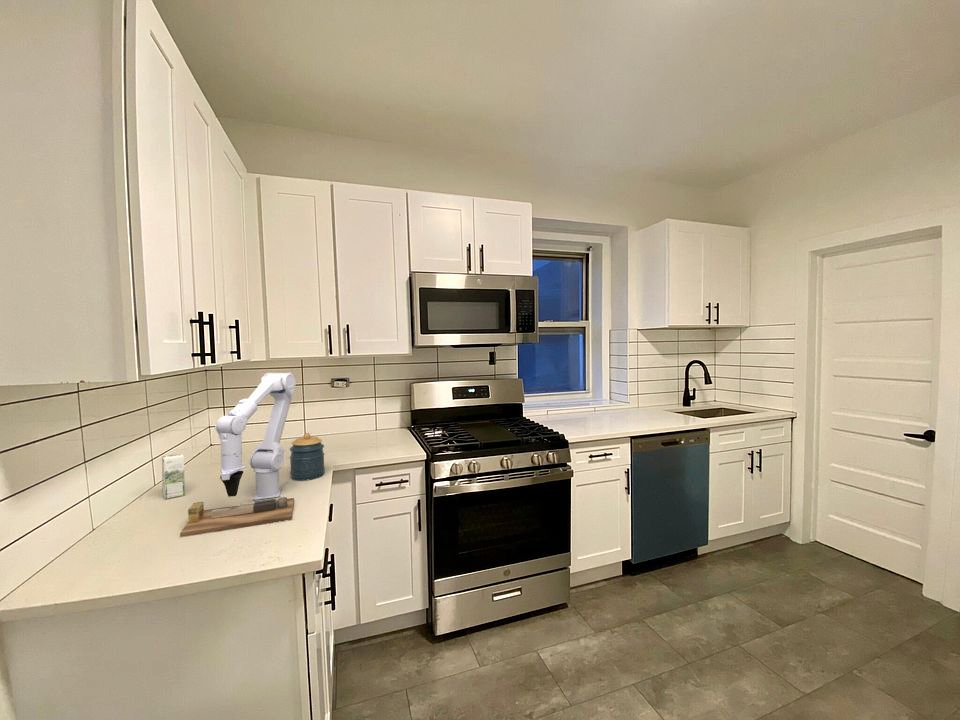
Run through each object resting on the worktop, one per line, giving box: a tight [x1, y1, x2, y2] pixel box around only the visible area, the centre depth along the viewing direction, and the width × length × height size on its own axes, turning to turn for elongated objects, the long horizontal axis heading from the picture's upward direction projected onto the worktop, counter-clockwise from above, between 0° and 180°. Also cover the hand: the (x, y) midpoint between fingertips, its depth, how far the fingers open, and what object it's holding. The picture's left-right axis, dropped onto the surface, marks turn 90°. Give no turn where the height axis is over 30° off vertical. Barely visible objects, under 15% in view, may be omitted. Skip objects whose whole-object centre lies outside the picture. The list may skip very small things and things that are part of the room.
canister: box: [289, 432, 326, 481], centre depth 164 cm, size 13×13×18 cm
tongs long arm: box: [211, 501, 276, 518], centre depth 124 cm, size 2×17×2 cm, turn 112°
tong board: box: [179, 496, 295, 538], centre depth 124 cm, size 16×28×4 cm, turn 112°
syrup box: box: [161, 452, 186, 500], centre depth 143 cm, size 6×6×14 cm
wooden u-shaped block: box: [187, 501, 205, 523], centre depth 120 cm, size 6×2×4 cm, turn 22°
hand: (232, 495), depth 127 cm, fingers closed
